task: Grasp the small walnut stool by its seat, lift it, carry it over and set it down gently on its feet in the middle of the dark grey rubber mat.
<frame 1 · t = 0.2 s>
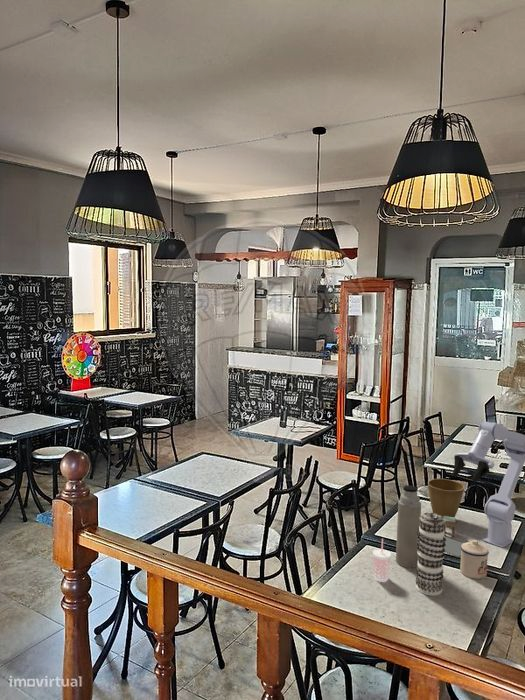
hand: (463, 478, 192), 31 cm above the table, tool tilted 45°, fingers open, 7 cm apart
thermos bottle: (407, 562, 194), on the table
beverage cup: (380, 579, 182), on the table
stool: (448, 534, 219), on the table
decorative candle: (428, 589, 176), on the table
mat: (451, 547, 207), on the table
teacup with lid: (474, 571, 188), on the table
plant pot: (444, 520, 233), on the table
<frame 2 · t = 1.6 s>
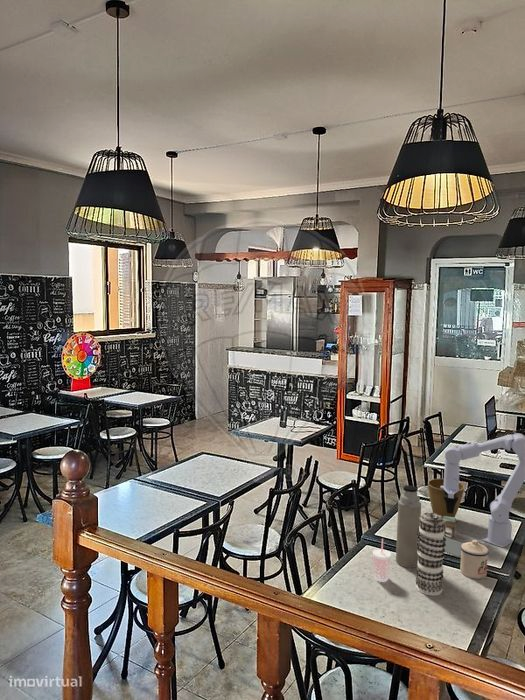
hand: (449, 509, 218), 10 cm above the table, tool pointing down, fingers open, 7 cm apart
nothing on the table moved.
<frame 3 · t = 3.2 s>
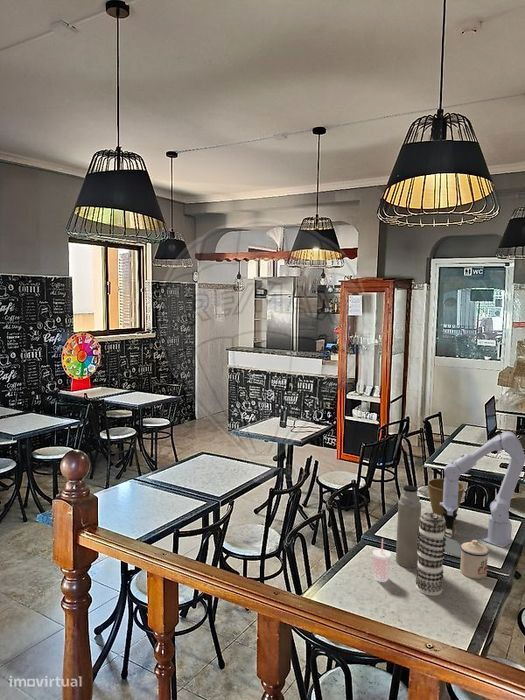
hand: (449, 526, 218), 3 cm above the table, tool pointing down, fingers closed on stool, 5 cm apart
stool: (448, 534, 219), on the table, touching gripper
everything else where it was.
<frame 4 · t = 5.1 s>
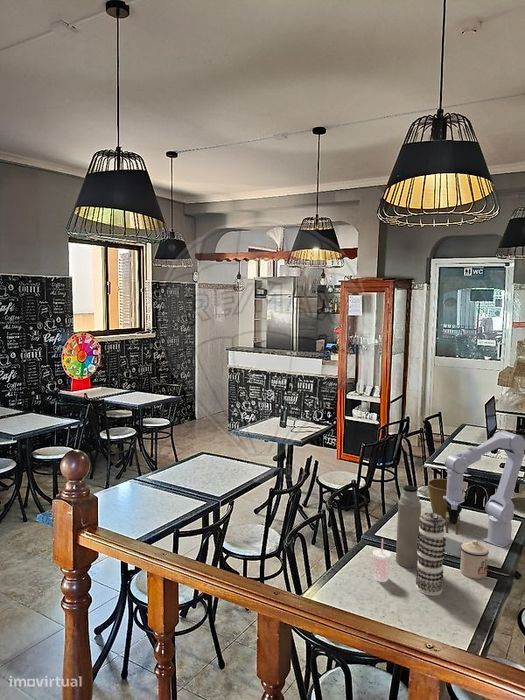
hand: (452, 521, 206), 10 cm above the table, tool pointing down, fingers closed on stool, 5 cm apart
stool: (451, 531, 206), point 6 cm above the table, touching gripper
everything else where it was.
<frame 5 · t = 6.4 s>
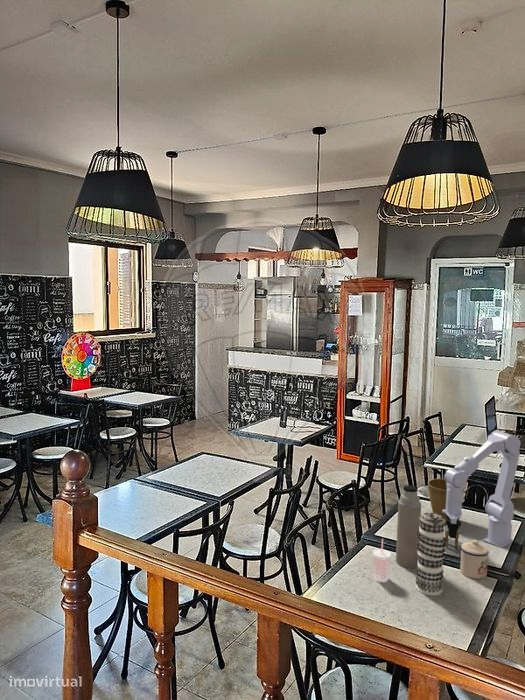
hand: (452, 534, 206), 5 cm above the table, tool pointing down, fingers closed on stool, 5 cm apart
stool: (451, 544, 207), point 1 cm above the table, touching gripper
everything else where it was.
when the fingers open (5 cm above the table, at t = 7.3 s): stool stays where it is, resting on mat.
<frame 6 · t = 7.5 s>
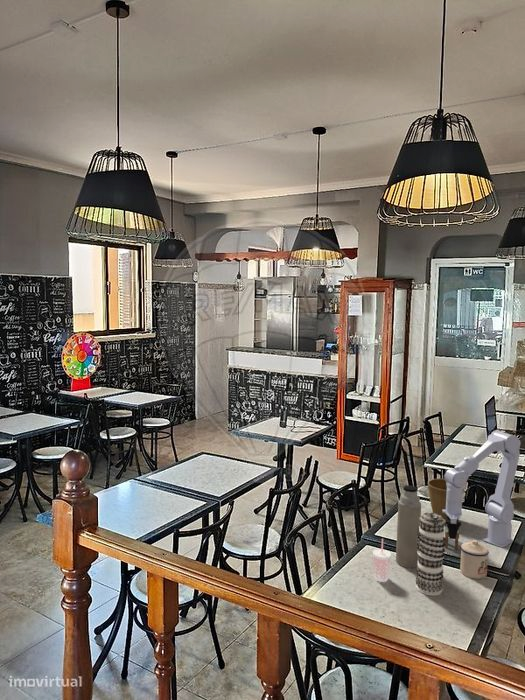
hand: (452, 534, 206), 5 cm above the table, tool pointing down, fingers open, 6 cm apart
stool: (451, 546, 207), resting on mat
everything else where it was.
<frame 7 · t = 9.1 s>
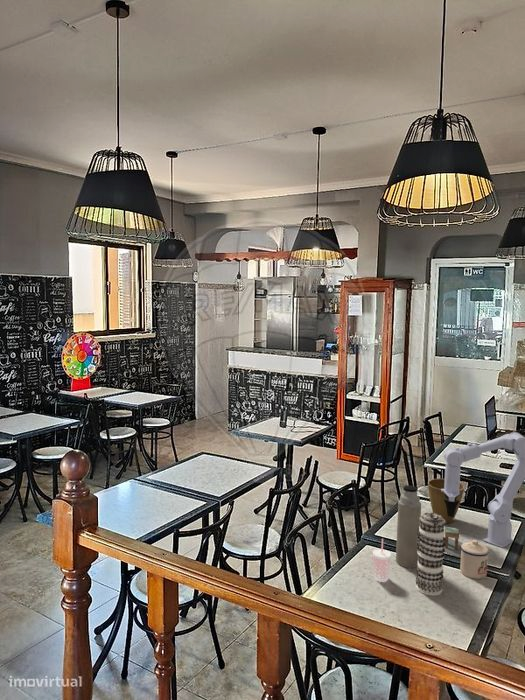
hand: (450, 512, 214), 10 cm above the table, tool pointing down, fingers open, 7 cm apart
nothing on the table moved.
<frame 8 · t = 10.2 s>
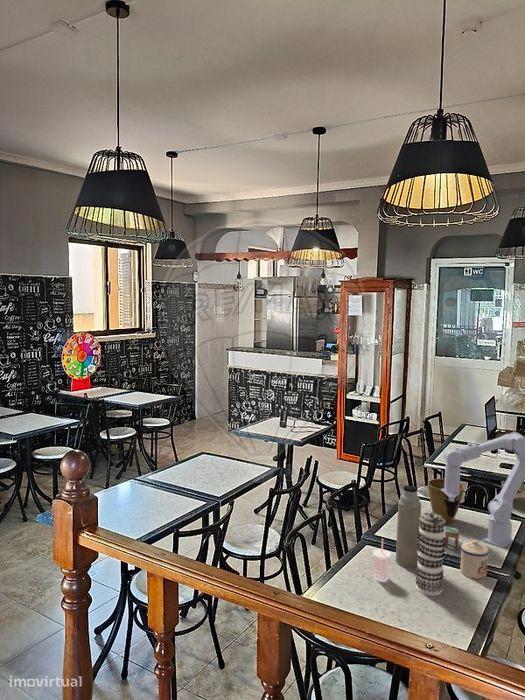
hand: (450, 512, 214), 10 cm above the table, tool pointing down, fingers open, 7 cm apart
nothing on the table moved.
at the end: stool inside the target area on the mat (0.1 cm from its centre), point 0.4 cm above the mat's base; stool tilted 0°; the gripper is holding nothing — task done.
